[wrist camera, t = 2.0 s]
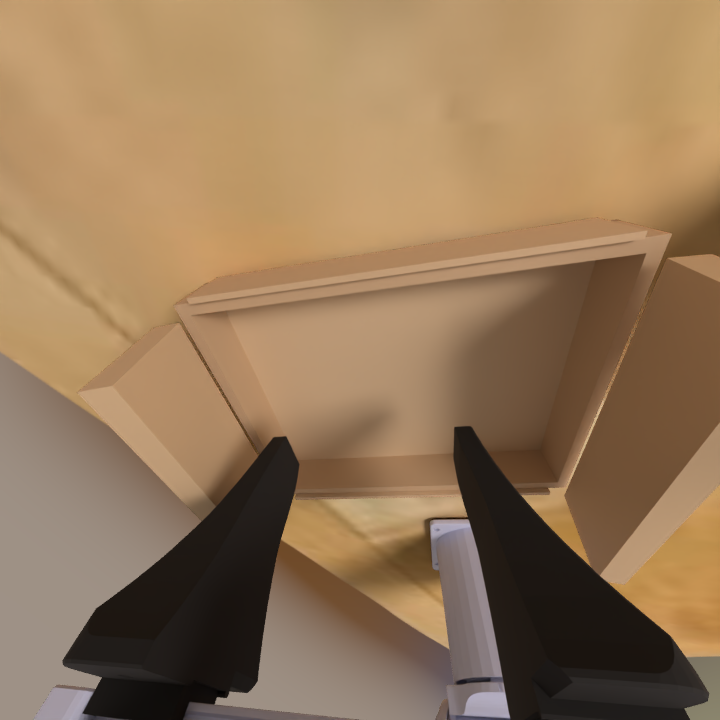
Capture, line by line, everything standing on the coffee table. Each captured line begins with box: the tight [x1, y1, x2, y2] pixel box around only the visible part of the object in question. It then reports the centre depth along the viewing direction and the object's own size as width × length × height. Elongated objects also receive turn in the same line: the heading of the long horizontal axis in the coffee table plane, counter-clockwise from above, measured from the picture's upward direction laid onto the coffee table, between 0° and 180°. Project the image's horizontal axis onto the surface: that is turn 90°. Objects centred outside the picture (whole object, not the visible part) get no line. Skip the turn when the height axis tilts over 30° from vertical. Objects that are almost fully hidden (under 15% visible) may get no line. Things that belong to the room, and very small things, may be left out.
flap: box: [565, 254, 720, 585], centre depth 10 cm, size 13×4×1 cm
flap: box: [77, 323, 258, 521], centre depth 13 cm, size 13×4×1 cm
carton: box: [173, 217, 672, 500], centre depth 14 cm, size 14×17×3 cm
